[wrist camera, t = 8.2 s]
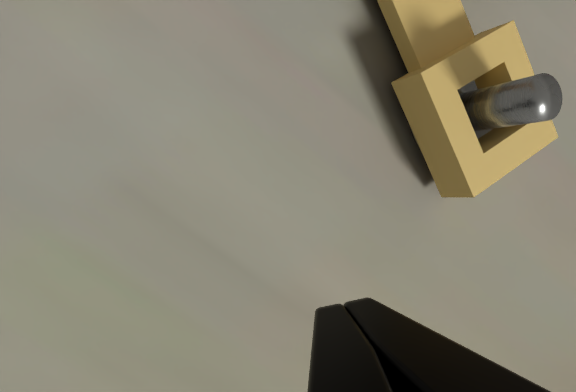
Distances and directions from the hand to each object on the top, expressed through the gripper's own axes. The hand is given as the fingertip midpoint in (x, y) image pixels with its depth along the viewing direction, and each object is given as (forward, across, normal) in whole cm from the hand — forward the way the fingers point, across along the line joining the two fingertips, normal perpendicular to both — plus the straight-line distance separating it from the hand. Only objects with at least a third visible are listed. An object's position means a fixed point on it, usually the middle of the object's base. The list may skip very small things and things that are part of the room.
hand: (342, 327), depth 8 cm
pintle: (+14, -9, +1) cm, 16 cm away
